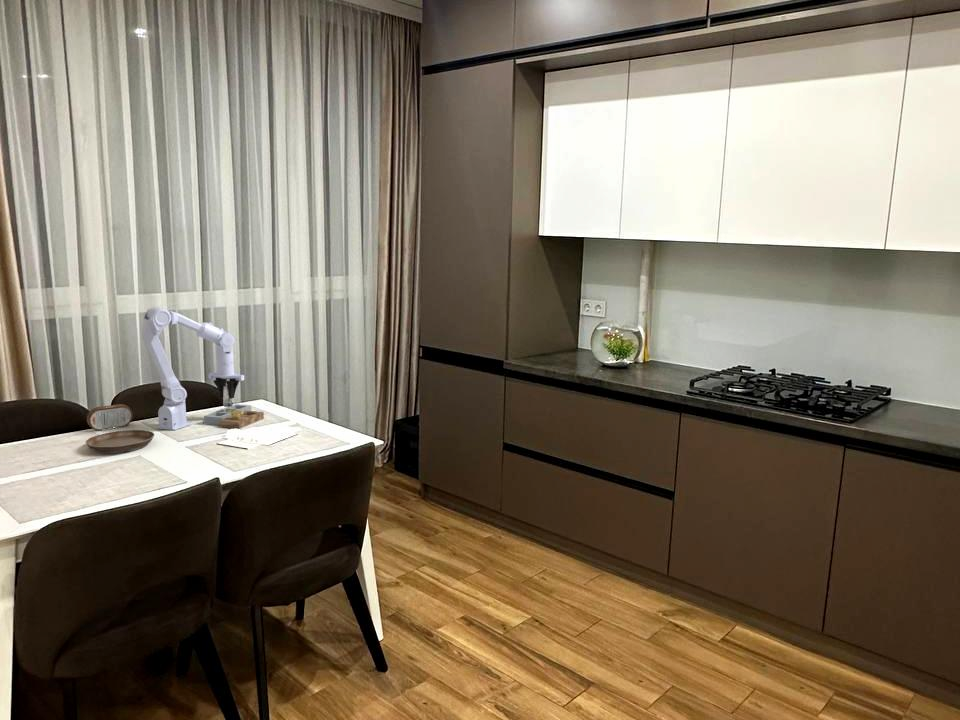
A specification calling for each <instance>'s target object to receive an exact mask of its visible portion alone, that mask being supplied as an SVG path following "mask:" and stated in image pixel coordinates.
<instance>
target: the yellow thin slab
mask: <svg viewBox="0 0 960 720" xmlns="http://www.w3.org/2000/svg"><path fill="white" fill-rule="evenodd" d="M228 413H231V417H232V419H237V420H239V419H240V414H243V413H244V411H241V410H230V409H229V410H228Z"/></svg>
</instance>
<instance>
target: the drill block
mask: <svg viewBox="0 0 960 720" xmlns="http://www.w3.org/2000/svg"><path fill="white" fill-rule="evenodd" d="M263 419H265V413H264V411H257V410H256V411H254V410H251V411H244V413H243V414H240V419H239V420H237V419H232V417H231V416H230V417H227V418H225V419H222V420H220V425H219V427H220V428H224V429H225V428H227V429H240V430H241V429H243V428H245V427H247V426H250V425H252V424H254V423H257V422H259V421H262V420H263Z"/></svg>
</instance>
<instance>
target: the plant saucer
mask: <svg viewBox="0 0 960 720" xmlns="http://www.w3.org/2000/svg"><path fill="white" fill-rule="evenodd" d="M154 437H155V433H154V432H152V431H149V430H145V429H144V430H143V429H128V430H127V429H126V430H116V431H110V432H105V433H101V434H98V435H94V436H91V437H90V438H88V439H86V440H85V444H86V446H87V447H88V448H89V449H90V450H92V451H94V452H96V453H99V454H122V453H129V452H135V451H138V450H140V449H143V448H145V447H146V446H148V445H149V444H150V443H151V442H152V440H154Z"/></svg>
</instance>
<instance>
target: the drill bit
mask: <svg viewBox="0 0 960 720" xmlns="http://www.w3.org/2000/svg"><path fill="white" fill-rule="evenodd" d="M222 400H223V401H222V402H223V403H222V404H223V407H224V408H227V407H231V406H232V405H233V398H232V399H229V391H228V386H227V384H226V385H223V398H222Z"/></svg>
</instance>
